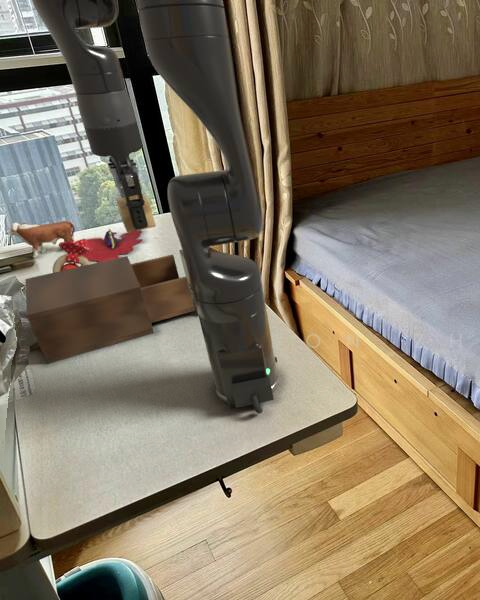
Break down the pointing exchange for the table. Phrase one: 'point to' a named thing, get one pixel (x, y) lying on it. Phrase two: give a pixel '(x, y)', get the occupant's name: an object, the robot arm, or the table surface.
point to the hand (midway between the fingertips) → (138, 222)
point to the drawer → (164, 287)
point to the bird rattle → (72, 255)
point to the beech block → (127, 218)
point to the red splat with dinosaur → (111, 246)
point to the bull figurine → (43, 234)
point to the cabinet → (86, 308)
